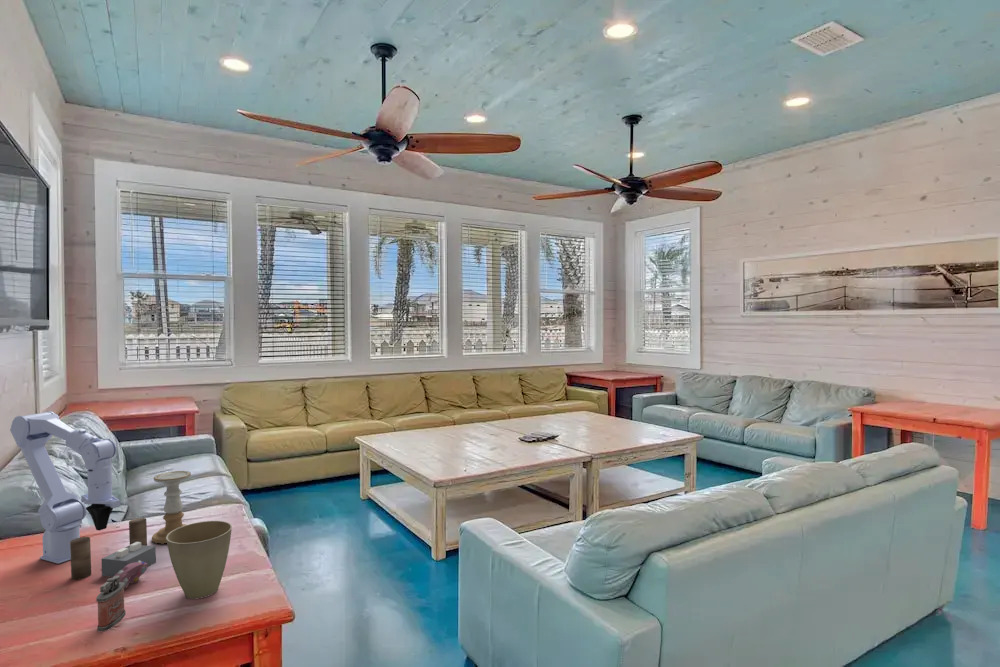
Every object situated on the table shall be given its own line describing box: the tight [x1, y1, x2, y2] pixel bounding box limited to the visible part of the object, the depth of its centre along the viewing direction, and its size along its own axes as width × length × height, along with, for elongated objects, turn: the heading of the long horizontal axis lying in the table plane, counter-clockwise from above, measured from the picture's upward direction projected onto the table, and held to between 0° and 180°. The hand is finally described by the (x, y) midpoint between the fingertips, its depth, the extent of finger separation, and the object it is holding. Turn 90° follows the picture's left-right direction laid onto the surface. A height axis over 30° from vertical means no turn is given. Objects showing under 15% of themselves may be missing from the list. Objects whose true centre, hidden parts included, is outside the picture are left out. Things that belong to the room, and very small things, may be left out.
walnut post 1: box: [70, 536, 92, 581], centre depth 156 cm, size 4×4×10 cm
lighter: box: [95, 576, 126, 632], centre depth 132 cm, size 8×3×10 cm, turn 5°
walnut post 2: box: [128, 517, 148, 546], centre depth 170 cm, size 4×4×10 cm
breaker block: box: [101, 542, 157, 578], centre depth 160 cm, size 8×10×7 cm
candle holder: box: [151, 470, 192, 545], centre depth 183 cm, size 12×12×20 cm
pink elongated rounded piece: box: [114, 560, 149, 589], centre depth 150 cm, size 10×5×7 cm, turn 169°
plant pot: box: [166, 520, 233, 600], centre depth 146 cm, size 15×15×16 cm
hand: (101, 529), depth 165 cm, fingers closed
